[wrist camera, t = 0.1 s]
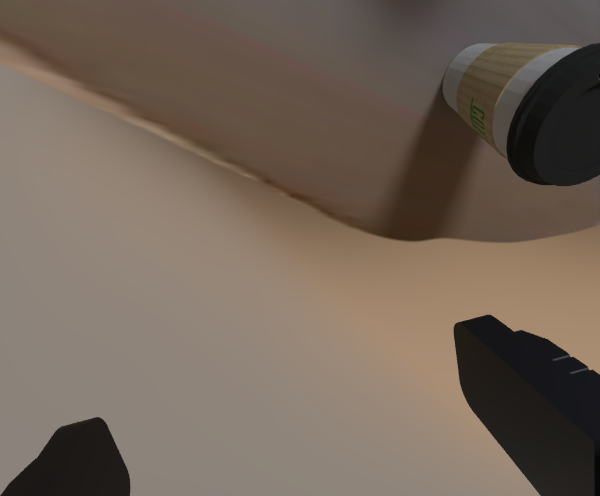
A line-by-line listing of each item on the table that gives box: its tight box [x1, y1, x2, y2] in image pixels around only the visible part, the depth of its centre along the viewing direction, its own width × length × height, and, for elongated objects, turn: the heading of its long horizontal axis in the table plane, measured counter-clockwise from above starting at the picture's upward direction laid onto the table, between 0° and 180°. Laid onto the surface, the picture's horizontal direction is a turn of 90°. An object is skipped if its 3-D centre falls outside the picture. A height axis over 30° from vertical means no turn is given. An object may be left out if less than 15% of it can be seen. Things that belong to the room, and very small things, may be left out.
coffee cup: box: [442, 43, 600, 186], centre depth 31 cm, size 10×10×15 cm
